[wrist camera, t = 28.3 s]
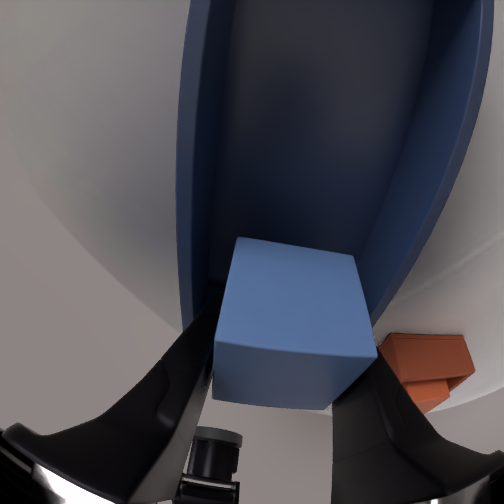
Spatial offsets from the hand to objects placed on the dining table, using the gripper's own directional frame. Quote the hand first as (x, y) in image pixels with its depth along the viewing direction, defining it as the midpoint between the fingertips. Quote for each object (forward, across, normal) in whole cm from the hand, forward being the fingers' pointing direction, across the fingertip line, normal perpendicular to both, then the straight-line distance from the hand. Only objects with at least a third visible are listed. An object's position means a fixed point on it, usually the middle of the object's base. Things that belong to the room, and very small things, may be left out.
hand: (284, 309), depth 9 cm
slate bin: (+3, 0, -5) cm, 6 cm away
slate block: (+1, 0, 0) cm, 1 cm away
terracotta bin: (+3, -12, +9) cm, 15 cm away
